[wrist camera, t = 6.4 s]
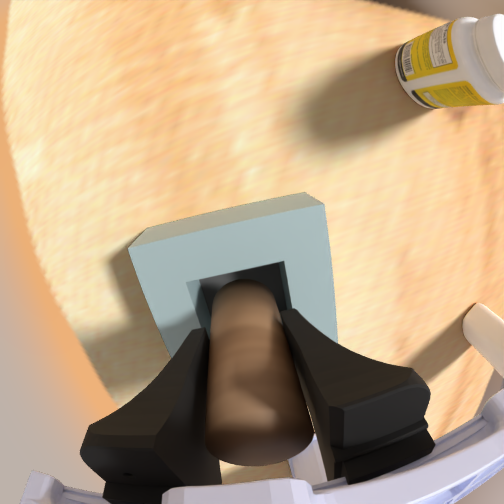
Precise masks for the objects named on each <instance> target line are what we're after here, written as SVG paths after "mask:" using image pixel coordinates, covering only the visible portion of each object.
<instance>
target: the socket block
mask: <svg viewBox="0 0 504 504" xmlns="http://www.w3.org/2000/svg"><path fill="white" fill-rule="evenodd" d="M128 251H129V254H130V257H131V260H132V263H133V266H134V269H135V271H136V274H137V277H138V280H139V282H140V285H141V288H142V290H143V293H144V295H145V298H146V300H147V303H148V305H149V308H150V310H151V313H152V315H153V318H154V320H155V323H156V325H157V327H158V330H159V332H160V334H161V336H162V339H163V341H164V343H165V345H166V348H167V350H168V352H169V354H170V356H171V359H172V357H173V356H174V355H175V353H176V352H177V350H178V349H179V347H180V346H181V345H182V343H183V342H184V340H185V339H186V337H187V336H188V334H189V333H190V331H191V330H193V329H198V328H204V327H205V328H206V331H207V334H208V337H209V339H210V330H211V316H212V304H213V300H214V297H215V295H216V293H217V292H218V291H219V290H220V288H222V287H223V286H224V285H226V284H227V283H229V282H231V281H234V280H238V279H252V280H256V281H258V282H261V283H263V284H264V285H266V286H267V287H268V288H269V289H270V290H271V292H272V293H273V295H274V298H275V301H276V304H277V307H278V310H279V314H280V317H281V313H280V312H281V311H285V310H289V309H293V308H295V309H297V310H298V311H299V312H300V314H301V315H302V316H303V317H304V318H305V319H307V320H308V321H309V322H310V323H311V324H312V325H313V326H314V327H316V328H317V329H318V330H319V331H321V332H322V333H323V334H325V335H326V336H327V337H329V338H330V339H332V340H333V341H335V342H336V343H338V336H337V320H336V306H335V293H334V282H333V272H332V262H331V253H330V244H329V236H328V228H327V220H326V213H325V206H324V203H322V202H320V201H319V200H317V199H315V198H314V197H312V196H310V195H309V194H307V193H305V192H303V193H298V194H293V195H288V196H283V197H278V198H273V199H268V200H264V201H259V202H254V203H250V204H245V205H241V206H236V207H232V208H227V209H223V210H218V211H214V212H210V213H206V214H201V215H197V216H193V217H189V218H185V219H181V220H177V221H173V222H169V223H165V224H161V225H157V226H153V227H149V228H146V230H145V231H144V232H143V233H142V234H141V235H140V236H139V237H138V238H137V239H136V240H135V241H134V242H133V243H132V244H131V245H130V246H129V247H128ZM281 320H282V318H281ZM282 324H283V323H282Z"/></svg>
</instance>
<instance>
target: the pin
mask: <svg viewBox="0 0 504 504" xmlns="http://www.w3.org/2000/svg"><path fill="white" fill-rule="evenodd" d="M313 437H314V428H313V425H312V421H311V418H310V415H309V411H308V408H307V404H306V401H305V398H304V394H303V391H302V387H301V384H300V381H299V377H298V374H297V371H296V367H295V364H294V360H293V357H292V354H291V350H290V347H289V344H288V341H287V338H286V334H285V331H284V328H283V324H282V320H281V317H280V314H279V310H278V307H277V304H276V301H275V298H274V295H273V293H272V292H271V290H270V289H269V288H268V287H267V286H266V285H264V284H263V283H261V282H258V281H256V280H252V279H238V280H234V281H231V282H229V283H227V284H226V285H224V286H223V287H222V288H220V290H219V291H218V292H217V293H216V295H215V297H214V300H213V304H212V316H211V330H210V345H209V360H208V377H207V396H206V418H205V446H206V448H207V450H208V451H209V452H210V453H211V454H212V455H213V456H214V457H216V458H218V459H219V460H222V461H224V462H227V463H230V464H235V465H241V466H264V465H270V464H275V463H279V462H282V461H285V460H288V459H290V458H292V457H294V456H296V455H298V454H299V453H301V452H302V451H304V450H305V449H306V448H307V447H308V446H309V445H310V443H311V442H312V440H313Z"/></svg>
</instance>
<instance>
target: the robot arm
mask: <svg viewBox="0 0 504 504" xmlns="http://www.w3.org/2000/svg"><path fill="white" fill-rule="evenodd" d="M280 313H281V318H282V323H283V328H284V331H285V334H286V338H287V341H288V344H289V347H290V350H291V354H292V357H293V360H294V364H295V367H296V371H297V374H298V377H299V381H300V384H301V387H302V391H303V394H304V398H305V401H306V403H307V406H308V409H309V412H310V415H311V419H312V422H313V426H314V430H315V434H314V437H313V440H312V442H311V443H310V445H309V446H308V447H307V448H306V449H305V450H304V451H302V452H301V453H299V454H298V455H296V456H294V457H292V458H290V459H288V462H289V466H290V469H291V473H292V476H293V478H289V477H285V478H274V479H265V480H258V481H251V482H243V483H234V484H223V485H222V480H221V472H220V464H219V459H218V458H216V457H214V456H213V455H212V454H211V453H210V452H209V451H208V450H207V448H206V446H205V418H206V396H207V377H208V360H209V345H210V339H209V337H208V334H207V331H206V328H205V327H204V328H198V329H193V330H191V331H190V333H189V334H188V336H187V337H186V339H185V340H184V342H183V343H182V345H181V346H180V347H179V349H178V350H177V352H176V353H175V355H174V356H173V357H172V359H171V360H170V361H169V362H168V364H167V365H166V366H165V367H164V369H163V370H162V371H161V372H160V374H159V375H158V376H157V377H156V378H155V379H154V380H153V381H152V382H151V383H150V384H149V385H148V386H147V387H146V388H145V389H144V390H143V391H141V392H140V393H139V394H138V395H137V396H135V397H134V398H133V399H132V400H131V401H129V402H128V403H127V404H125V405H124V406H122V407H121V408H119V409H118V410H116V411H115V412H113V413H112V414H110V415H108V416H106V417H105V418H103V419H101V420H99V421H97V422H95V423H93V424H91V425H89V427H88V430H87V433H86V435H85V438H84V441H83V443H82V446H81V449H80V455H81V457H82V459H83V461H84V462H85V463H86V464H87V465H88V466H89V467H90V468H91V469H92V470H93V471H94V472H96V473H97V474H98V475H99V476H100V477H101V478H102V479H103V480H105V481H106V483H105V488H104V492H103V494H101V493H96V492H90V491H85V490H80V489H76V488H72V487H67V486H64V485H63V484H62V483H61V482H60V481H59V480H58V479H56V478H55V477H53V476H51V475H48V474H45V473H41V472H38V471H34V470H33V471H31V474H30V477H29V479H28V482H27V485H26V487H25V490H24V493H23V496H22V499H21V502H20V504H454V503H455V502H457V501H458V500H460V499H461V498H463V497H464V496H466V495H467V494H469V493H470V492H471V491H473V490H474V489H476V488H477V487H479V486H480V485H481V484H483V483H484V482H486V481H487V480H488V479H490V478H491V477H492V476H493V475H495V474H496V473H497V472H499V471H500V470H501V469H502V468H504V388H503V389H502V390H500V391H499V392H497V393H496V394H495V395H493V396H492V397H491V398H490V399H489V400H488V401H487V402H486V403H485V405H484V407H483V409H482V412H481V414H479V415H477V416H476V417H474V418H473V419H471V420H469V421H468V422H466V423H464V424H463V425H461V426H459V427H458V428H456V429H454V430H452V431H451V432H449V433H447V434H445V435H443V436H442V437H440V438H438V439H436V440H434V441H433V439H432V437H431V436H430V434H429V432H428V431H427V428H428V423H427V421H426V420H425V418H424V415H425V412H426V409H427V407H428V404H429V401H430V395H431V393H430V389H429V387H428V386H427V385H426V383H425V382H424V381H423V379H422V378H421V377H420V376H419V375H418V374H417V373H416V372H415V371H414V370H413V369H412V368H408V367H402V366H396V365H391V364H387V363H383V362H379V361H376V360H373V359H370V358H367V357H365V356H362V355H360V354H357V353H355V352H353V351H350V350H349V349H347V348H345V347H343V346H341V345H340V344H338V343H336V342H335V341H333V340H332V339H330V338H329V337H327V336H326V335H325V334H323V333H322V332H321V331H319V330H318V329H317V328H316V327H314V326H313V325H312V324H311V323H310V322H309V321H308V320H307V319H305V318H304V317H303V316H302V315H301V314H300V312H299V311H298V310H297V309H295V308H293V309H289V310H285V311H281V312H280Z"/></svg>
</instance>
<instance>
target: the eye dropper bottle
mask: <svg viewBox="0 0 504 504" xmlns="http://www.w3.org/2000/svg"><path fill="white" fill-rule="evenodd" d="M463 333H464V336H465V338H466V339H467V341H468V342H469V343H470V344H471V345H472V346H473V347H474V348H475V349H476V350H477V351H478V352H479V353H480V354H481V355H482V356H483V357H484V358H485V359H486V360H487V361H488V362H489V363H490V364H491V365H492V366H493V367H494V368H495V369H496V370H497V371H498V373H499V374H500V375H501V376H502V377H503V378H504V320H502V319H501V318H500V317H499V316H497V315H496V314H495V313H494V312H492V311H491V310H490V309H489V308H487V307H486V306H485V305H483V304H481V303H476V304H475V305H474V306H473V307H472V308H471V310H470V311H469V312H468V313H467V314H466V316H465V317H464V319H463Z"/></svg>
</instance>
